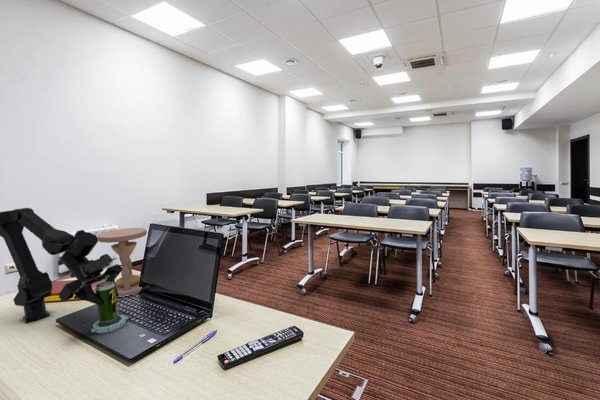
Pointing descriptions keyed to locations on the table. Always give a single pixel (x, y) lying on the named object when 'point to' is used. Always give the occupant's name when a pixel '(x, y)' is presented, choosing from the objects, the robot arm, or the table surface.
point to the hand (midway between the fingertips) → (110, 300)
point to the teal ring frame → (110, 325)
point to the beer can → (107, 302)
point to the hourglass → (124, 257)
